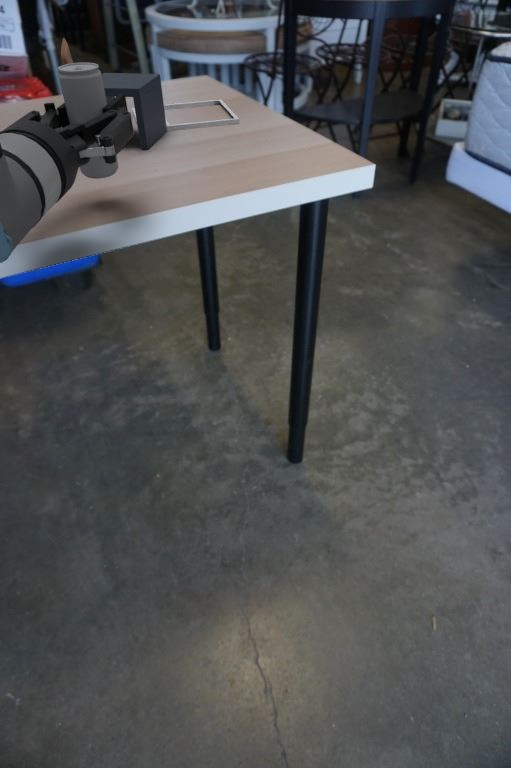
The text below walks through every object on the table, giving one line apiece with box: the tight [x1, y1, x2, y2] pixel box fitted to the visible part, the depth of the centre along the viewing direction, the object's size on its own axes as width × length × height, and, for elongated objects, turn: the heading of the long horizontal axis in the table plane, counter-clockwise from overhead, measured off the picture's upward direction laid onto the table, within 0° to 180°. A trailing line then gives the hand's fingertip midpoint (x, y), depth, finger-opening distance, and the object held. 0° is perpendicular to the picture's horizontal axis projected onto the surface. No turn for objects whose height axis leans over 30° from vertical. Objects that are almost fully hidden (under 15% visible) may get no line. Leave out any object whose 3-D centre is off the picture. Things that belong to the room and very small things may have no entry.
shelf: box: [101, 72, 168, 151], centre depth 89 cm, size 10×10×9 cm
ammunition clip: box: [60, 37, 74, 65], centre depth 100 cm, size 11×2×12 cm, turn 13°
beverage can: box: [57, 62, 119, 180], centre depth 65 cm, size 5×5×12 cm
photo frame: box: [131, 99, 240, 132], centre depth 101 cm, size 15×1×18 cm
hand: (102, 105), depth 68 cm, fingers closed on beverage can, 5 cm apart
